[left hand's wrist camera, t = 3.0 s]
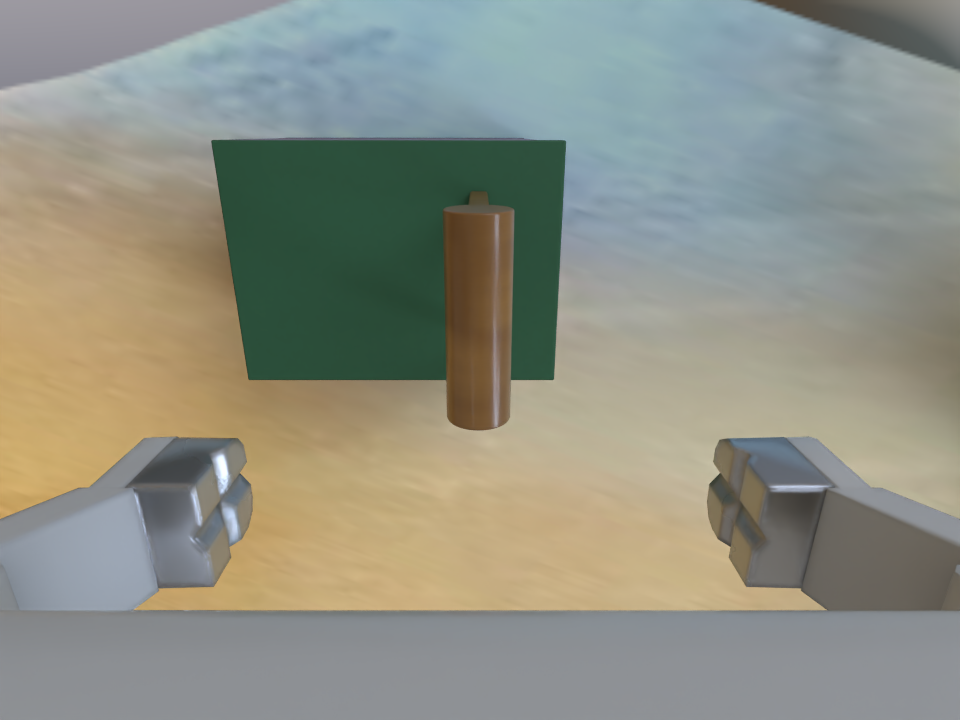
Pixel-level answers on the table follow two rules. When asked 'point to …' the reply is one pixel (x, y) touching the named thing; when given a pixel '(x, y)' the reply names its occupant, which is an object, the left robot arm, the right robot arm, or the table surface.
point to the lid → (397, 262)
